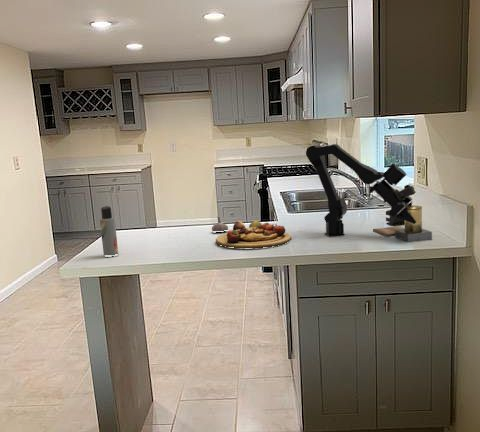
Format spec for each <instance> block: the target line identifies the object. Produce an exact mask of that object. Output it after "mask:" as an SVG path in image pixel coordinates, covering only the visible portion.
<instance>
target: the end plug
mask: <svg viewBox="0 0 480 432" xmlns="http://www.w3.org/2000/svg"><path fill="white" fill-rule="evenodd" d="M405 207H406V206H405ZM408 211H409V213H410V214H411V215H412V217H413V218H414V219H415V221H416V223H415V224H413V223H411V222H408V221H406V220H405V224H404V228H405V231H407V232H410V233H413V232H419V231H422V229H423V206H421V205H412V206H408Z"/></svg>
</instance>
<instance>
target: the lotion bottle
mask: <svg viewBox="0 0 480 432" xmlns="http://www.w3.org/2000/svg"><path fill="white" fill-rule="evenodd" d="M100 211H101V218H100V219H99V224H100V225H99V226H100V232H101V233H100V234H101V242H102V250H103V251H102V252H103V256H104V255H115V254H118V255H119V247H118V238H117V229H116V220H115V217H113V215H112V207H111V206H109V205H107V206H103V207H101V208H100Z"/></svg>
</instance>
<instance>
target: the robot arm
mask: <svg viewBox="0 0 480 432" xmlns="http://www.w3.org/2000/svg"><path fill="white" fill-rule="evenodd" d="M327 155H333V156H334V157H335V158H337V159H338V160H339V161H341V162H342V163H343V164H344V165H346V166H347V167H348V168H350V169H351V170H352V171H353V172H355V174H356V175H357V178H359V179H360V180H361V182H362V183H363V184H365V185H371V184H373V185H371V186H369V187H368V189H369V191H368V193H369V194H372V193H374V192H375V193H376V194H377V195H378V196H379V197H380V198H381V199H383V200H382V201H383V202H384V203H387V205H388V206H389V207H390V209H389V210H390V211H389V214H390V215H391V216H392V217H394V216H395V215H396V214H398V215H397V216H395V217H397V218H400V219H403V220H406V221H408V222H411V223H413V224H415V223H416V221H415V219H414V218H413V217H412V215H411V214H410V213H409V211H408V206H413V201H412V200H413V198H412V197H411V196H413V195H415V194H416V193H417V192H416V190H415V187H414V186H413V185H410V184H405V185H404V188H403V189H402V190H400V191H399V190H398V189H395V188H394V187H392V186H393V185H395V186H397V185H398V184H399V183H400V182H401V181H402V180H403V179H404V178H405V177H406V176H407V173H406V172H405V171H404V169H402V168H401V167H399V166H398V165H397V164H395V163H392V164H391V165H390V166H389V167H388V168H387V170H386V171H384V172H383V171H382V172H381V171H378V170H377V169H375V168H373V167H371V166H369V165H368V164H367V165H366V164H364V163H362V162H361V161H359V160H358V159H357V158H355V157H354V156H353V155H351V154H350V153H349V152H348V151H347V150H344V149H343V148H342V147H341V146H340V145H339V144H337V143H333V144H331V145H326V146H325V145H323V146H322V145H319V144H315V145H310V146H308V147H307V149H306V151H305V156H306V157H307V160H309V163H311V165H312V166H313V167H314V168H315V171H316V173H317V175H318V178H319V180H320V183H321V185H322V187H323V190H324V193H325V195H326V198H327V209H328V212H327V214H326V215H325V216H324V218H323V219H324V221H325V231H326V232H324V234H325V235H326V236H328V237H337V236H338V237H340V236H344V235H345V233H344V230H345V229H344V228H345V227H344V225H345V224H344V223H343V217H344V216H345V215H346V213H347V211H348V204H347V202H346V198H345V197H341V196H339V194H338V191H337V190H336V189H337V188H336V187H335V184H334V181H333V179H332V177H331V175H330V172H329V170H328V168H327V167H328V166H327V165H326V156H327ZM381 179H382V180H381ZM405 206H406V207H405Z"/></svg>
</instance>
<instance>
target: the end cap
mask: <svg viewBox="0 0 480 432" xmlns="http://www.w3.org/2000/svg"><path fill="white" fill-rule="evenodd" d="M390 210H391V209H389V210H386V211H385V215H386V216H389V217H385V222H386V225H387V226H388V225H390V226H398V225H405V220H403V219H400V218H397V217H395V216H397V215H398V214H396V215H395V216H394V217H392V216H391V215H390V214H389V211H390Z"/></svg>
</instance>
